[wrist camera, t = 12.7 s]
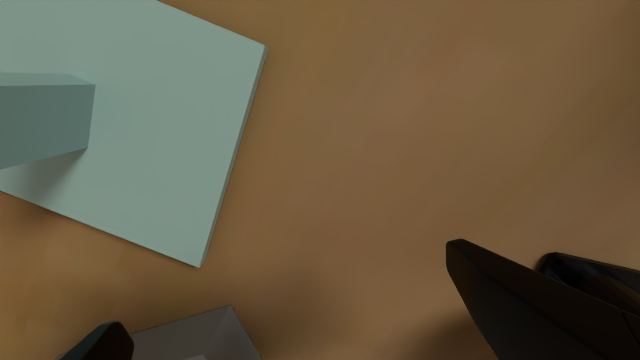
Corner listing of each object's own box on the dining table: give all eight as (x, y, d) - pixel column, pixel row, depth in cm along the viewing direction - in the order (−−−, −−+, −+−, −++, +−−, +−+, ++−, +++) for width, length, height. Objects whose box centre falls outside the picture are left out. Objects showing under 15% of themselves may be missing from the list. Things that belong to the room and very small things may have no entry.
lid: (272, 48, 17) (186, 13, 8) (209, 255, 22) (111, 375, 13) (-45, -83, 17) (-504, -272, 8) (-38, 158, 22) (-317, 214, 13)
